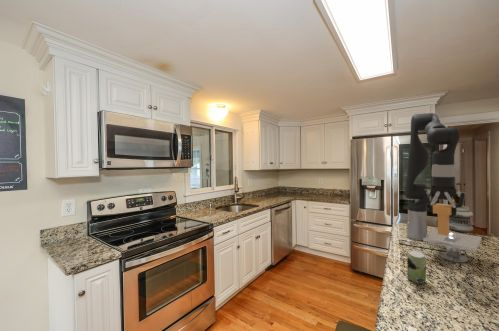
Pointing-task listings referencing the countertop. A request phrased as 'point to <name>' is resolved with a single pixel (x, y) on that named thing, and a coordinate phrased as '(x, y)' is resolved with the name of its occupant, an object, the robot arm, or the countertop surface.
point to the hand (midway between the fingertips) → (443, 214)
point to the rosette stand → (454, 244)
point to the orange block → (443, 217)
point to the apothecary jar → (461, 220)
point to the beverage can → (416, 266)
